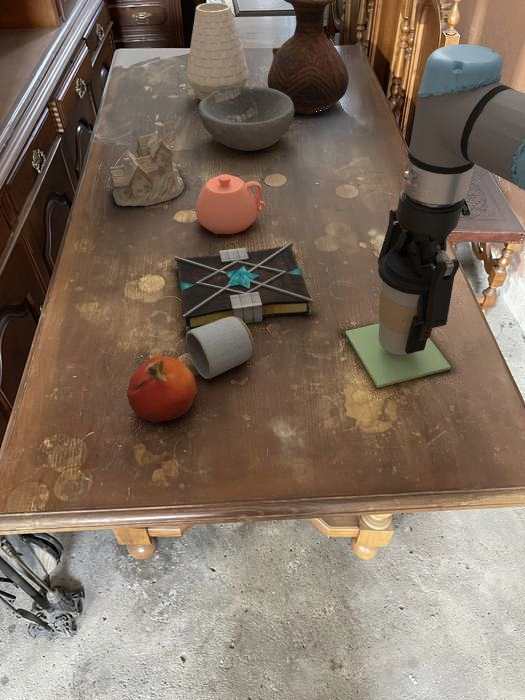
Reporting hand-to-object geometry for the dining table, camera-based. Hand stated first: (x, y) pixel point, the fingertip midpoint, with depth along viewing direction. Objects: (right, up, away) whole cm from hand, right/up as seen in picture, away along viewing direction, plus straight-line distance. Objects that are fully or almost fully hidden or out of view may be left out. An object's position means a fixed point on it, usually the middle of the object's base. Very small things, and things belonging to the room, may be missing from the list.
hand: (400, 330), depth 81 cm
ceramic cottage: (-46, +33, +40) cm, 70 cm away
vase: (-33, +69, +74) cm, 106 cm away
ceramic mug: (-28, -4, +3) cm, 28 cm away
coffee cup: (0, -2, +2) cm, 2 cm away
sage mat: (0, -3, +3) cm, 4 cm away
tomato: (-34, -11, -4) cm, 36 cm away
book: (-24, +7, +14) cm, 29 cm away
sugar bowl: (-27, +23, +29) cm, 46 cm away
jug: (-8, +65, +70) cm, 96 cm away
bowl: (-24, +49, +54) cm, 77 cm away
